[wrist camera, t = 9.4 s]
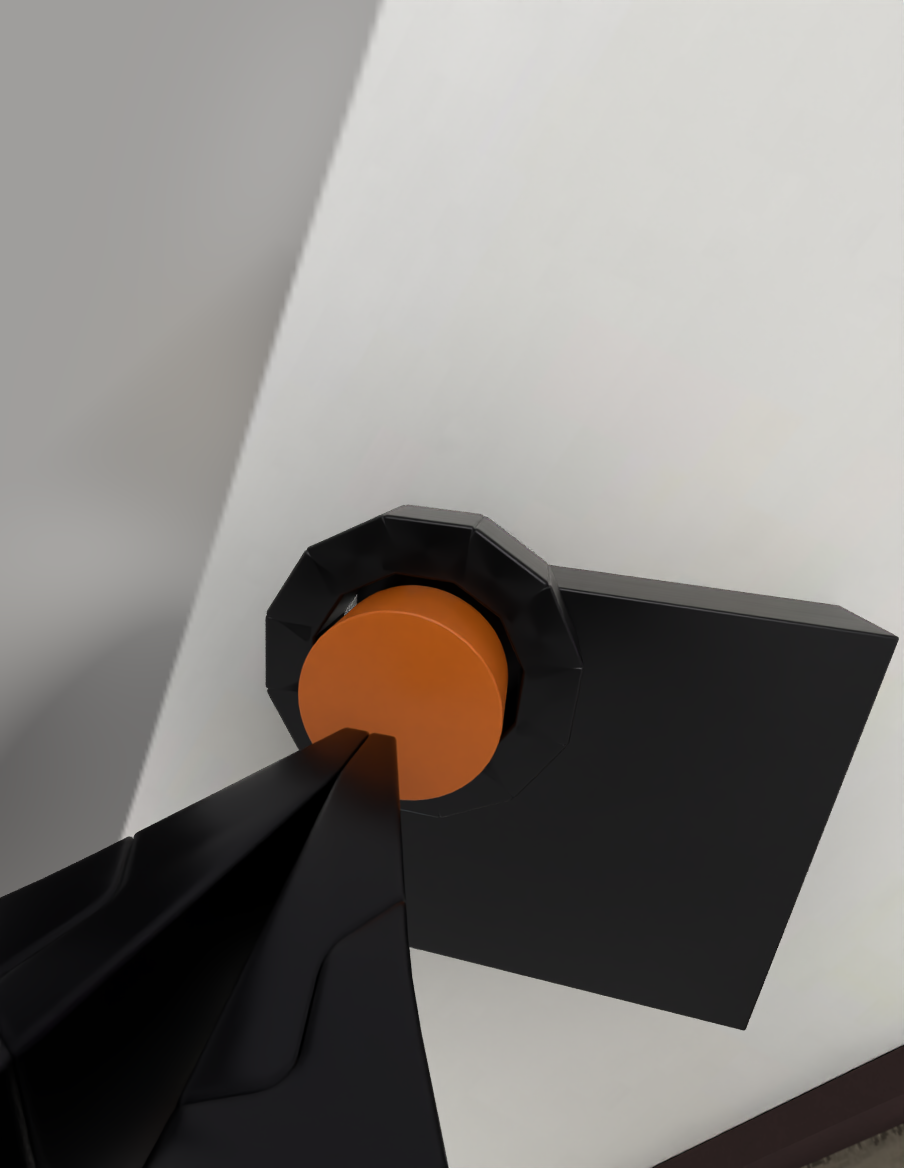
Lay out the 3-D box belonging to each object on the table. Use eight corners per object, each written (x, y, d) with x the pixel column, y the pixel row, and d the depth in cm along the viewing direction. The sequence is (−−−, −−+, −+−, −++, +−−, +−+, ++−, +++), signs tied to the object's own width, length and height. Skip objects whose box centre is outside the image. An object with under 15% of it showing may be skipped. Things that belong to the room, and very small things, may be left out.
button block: (323, 863, 18) (265, 977, 14) (338, 483, 14) (263, 498, 10) (718, 955, 16) (775, 1115, 12) (860, 549, 12) (1007, 597, 8)
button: (330, 732, 12) (295, 778, 10) (335, 571, 11) (298, 594, 9) (495, 764, 11) (488, 819, 10) (521, 599, 10) (517, 629, 8)
